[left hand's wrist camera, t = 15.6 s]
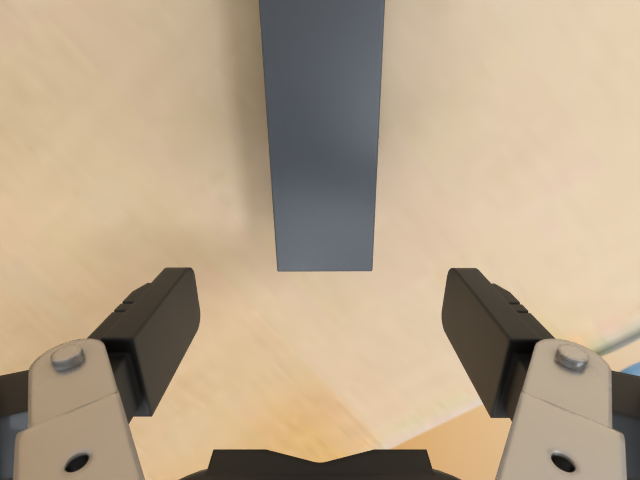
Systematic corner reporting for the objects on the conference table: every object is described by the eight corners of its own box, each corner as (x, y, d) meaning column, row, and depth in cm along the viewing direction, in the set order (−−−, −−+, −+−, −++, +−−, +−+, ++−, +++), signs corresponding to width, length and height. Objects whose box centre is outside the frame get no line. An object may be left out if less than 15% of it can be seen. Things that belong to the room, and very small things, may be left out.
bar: (359, 222, 27) (372, 271, 20) (291, 222, 27) (277, 271, 20) (374, -262, 17) (410, -535, 10) (267, -257, 18) (222, -524, 10)
